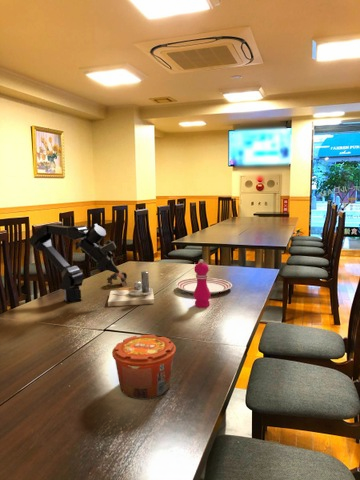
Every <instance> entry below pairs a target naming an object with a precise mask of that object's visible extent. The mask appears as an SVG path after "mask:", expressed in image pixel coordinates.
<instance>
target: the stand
mask: <svg viewBox="0 0 360 480" xmlns="http://www.w3.org/2000/svg"><path fill="white" fill-rule="evenodd" d="M149 288H150V287H149ZM153 290H154V289H153V288H150V294H149V295H146V296H139V297H136V296H130V295H129V289H124V290H119V289H118V290H116V289H115V290H110V292H109V297H108V300H107V307H119V306H135V305H136V306H137V305H151V304H153V305H154V304H155V298H154V297H155V296H154V291H153Z"/></svg>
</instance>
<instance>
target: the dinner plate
mask: <svg viewBox="0 0 360 480" xmlns="http://www.w3.org/2000/svg"><path fill="white" fill-rule="evenodd" d="M206 281H207V286H208V289H209V291H210V295H216V294H219V292H220V293H222V292H223V293H224V292H226V291H228V290H230V289H231V288H232V287H233V284H232V283H231V282H230V281H227V280H225V279H220V278H215V277H214V278H213V277H208V278H207V280H206ZM175 286H176V287H177V288H178V289H179V290H182V291H184V292H186V293H188V294H193V295H194V291H195V289H196V286H197V278H196V277H191V278H184V279H181V280H178V281H177V282H176V284H175Z"/></svg>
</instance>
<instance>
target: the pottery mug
mask: <svg viewBox="0 0 360 480" xmlns="http://www.w3.org/2000/svg"><path fill="white" fill-rule="evenodd" d="M127 277H128V274H127V272H125V271H123V272H121V273H120V272H119V273H115V272H113V273H112V274H111V275H110V276H109V277H107V278H106V280H107V284H110V285H113V283H114V282H113V280H115V281H118V278H119V279H120V280H121V285H122V288H125V287H126V285H127V284H128V283H127Z"/></svg>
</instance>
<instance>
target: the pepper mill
mask: <svg viewBox="0 0 360 480" xmlns="http://www.w3.org/2000/svg"><path fill="white" fill-rule="evenodd" d="M198 261H199V263H196V265H194V273H195V278H197V286H196V289H195V291H194V294H193V299H194V300H195V301H194V306H195V307H197V308H200V309H202V308H203V309H204V308H207V307H210V305H211V304H210V299H211V297H212V296H211V295H212V294H210V291H209V289H208V286H207V281H206V280H207V278H209V276H208V272H209V270H210V268H209V265H208V264H207V263H205V262H204V259H199V260H198Z"/></svg>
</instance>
